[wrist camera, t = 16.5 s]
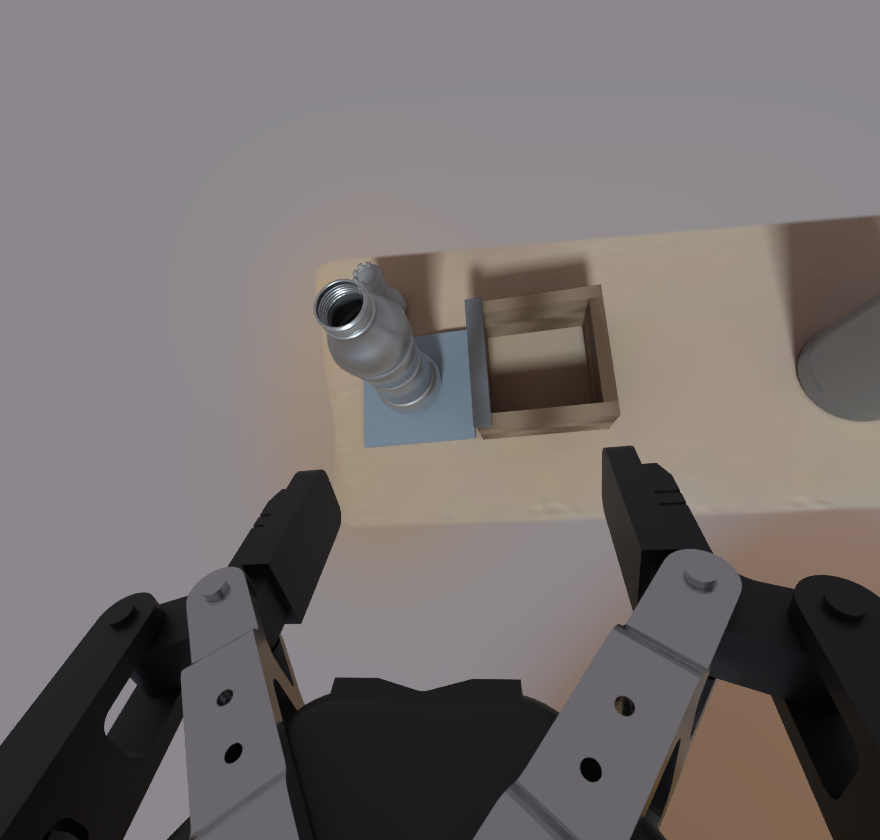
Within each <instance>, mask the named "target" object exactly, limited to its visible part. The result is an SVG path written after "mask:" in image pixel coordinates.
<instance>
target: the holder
mask: <svg viewBox="0 0 880 840" xmlns="http://www.w3.org/2000/svg"><path fill="white" fill-rule="evenodd" d="M465 313H466V327H467V342H468V356H469V370H470V385H471V399H472V414H473V426H474V428H477V429H478V431H479V432H480V434H481V436H482V438H483V439H495V438H506V437H518V436H529V435H541V434H552V433H564V432H575V431H587V430H598V429H609V428H610V427H611V425H612V424H613V423H614V422H615V420H616V419H617V418H618V417H619V415H620V409H619V402H618V396H617V389H616V382H615V376H614V369H613V362H612V356H611V349H610V342H609V336H608V329H607V322H606V316H605V309H604V302H603V296H602V289H601V284H600V285H593V286H586V287H579V288H572V289H565V290H558V291H551V292H544V293H537V294H530V295H523V296H517V297H510V298H503V299H496V300H489V301H482V299H481V298H474V299H467V300H465ZM575 326H582V328H583V336H584V343H585V351H586V358H587V365H588V373H589V380H590V387H591V395H592V402H593V403H592V404H582V405H571V406H561V407H551V408H541V409H530V410H520V411H510V412H499V413H493V405H492V392H491V380H490V368H489V355H488V343H487V338H490V337H497V336H505V335H513V334H521V333H529V332H536V331H544V330H552V329H560V328H568V327H575Z"/></svg>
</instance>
